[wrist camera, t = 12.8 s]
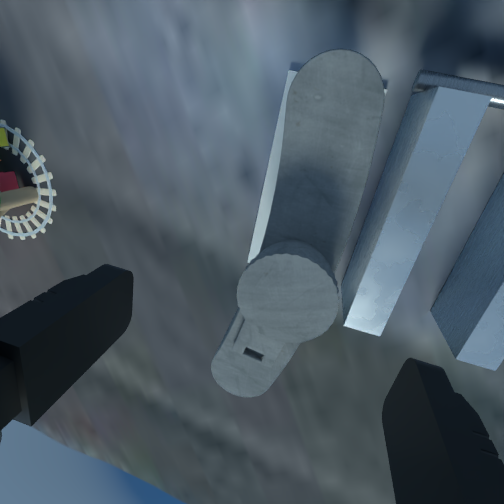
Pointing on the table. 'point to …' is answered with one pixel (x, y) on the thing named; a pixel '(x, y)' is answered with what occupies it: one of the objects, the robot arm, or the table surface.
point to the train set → (10, 195)
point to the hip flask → (305, 220)
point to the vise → (422, 217)
